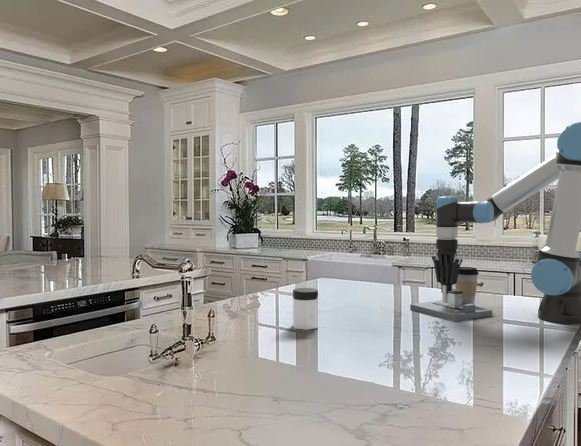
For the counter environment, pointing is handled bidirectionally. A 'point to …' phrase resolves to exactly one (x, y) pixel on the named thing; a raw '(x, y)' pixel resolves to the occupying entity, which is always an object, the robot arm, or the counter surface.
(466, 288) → the coffee cup
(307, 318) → the jar
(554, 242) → the robot arm
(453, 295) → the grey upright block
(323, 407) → the counter surface
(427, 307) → the console
